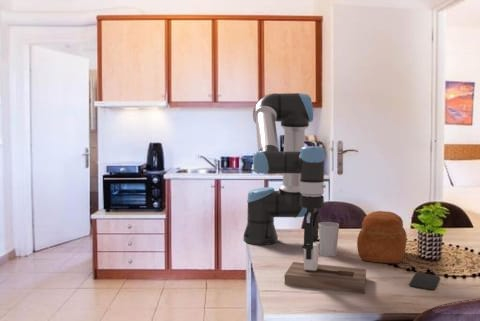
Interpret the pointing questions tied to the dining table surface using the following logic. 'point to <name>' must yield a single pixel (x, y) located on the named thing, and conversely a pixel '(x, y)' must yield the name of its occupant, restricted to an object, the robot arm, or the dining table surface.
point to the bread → (382, 238)
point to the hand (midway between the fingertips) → (310, 265)
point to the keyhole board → (327, 277)
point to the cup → (328, 238)
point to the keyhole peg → (315, 266)
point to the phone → (424, 281)
